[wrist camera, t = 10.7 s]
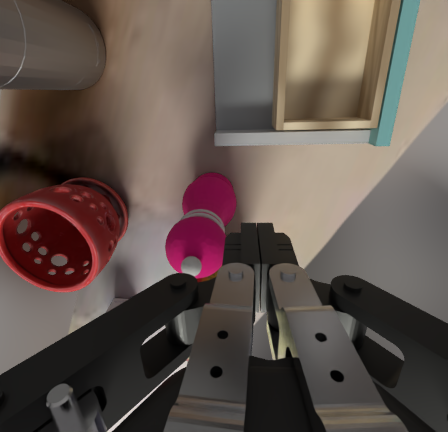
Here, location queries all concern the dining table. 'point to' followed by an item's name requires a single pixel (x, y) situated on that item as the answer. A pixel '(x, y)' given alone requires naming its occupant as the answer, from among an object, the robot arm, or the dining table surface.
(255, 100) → the bay
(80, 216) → the plant pot
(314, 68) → the crate
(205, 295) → the robot arm
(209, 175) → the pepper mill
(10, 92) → the dining table surface
